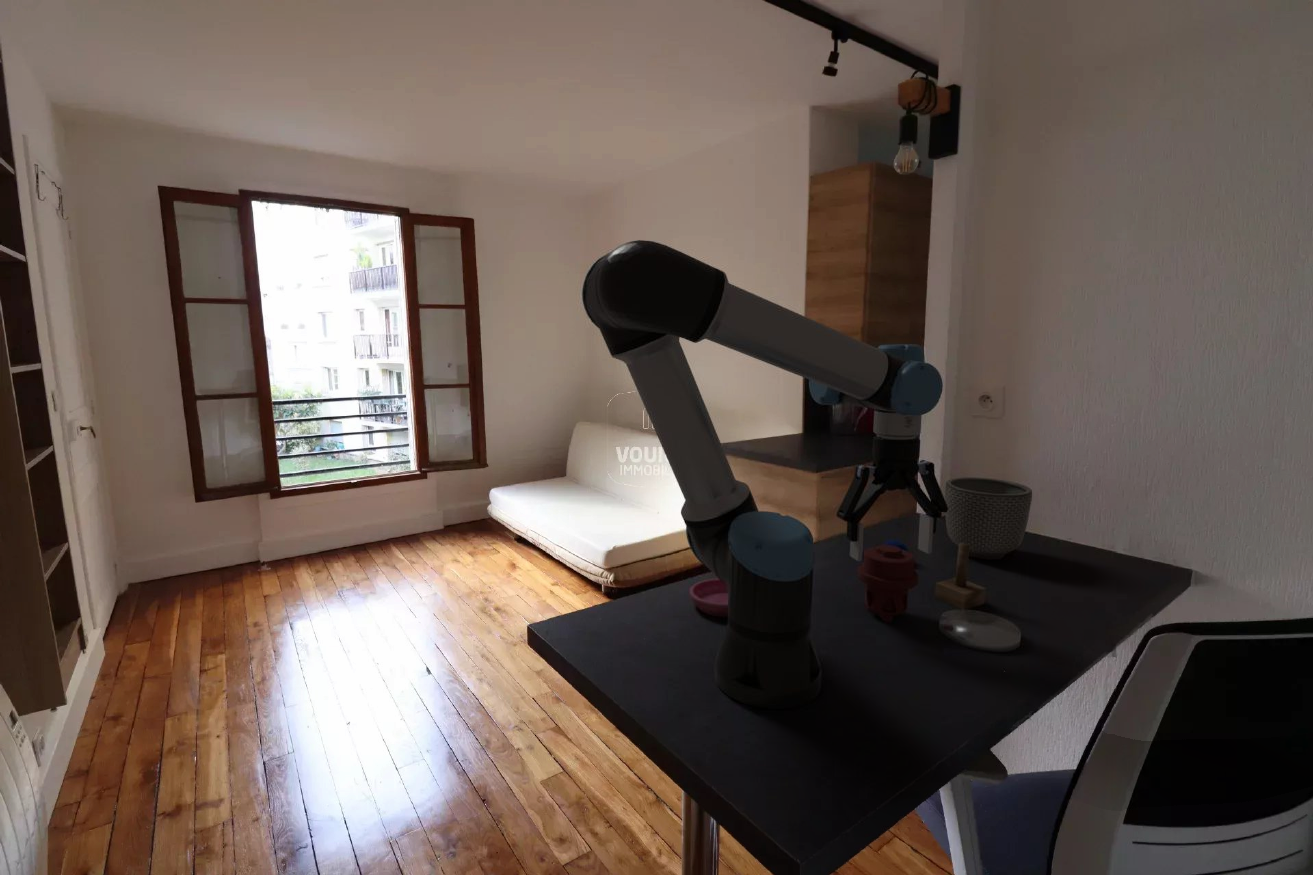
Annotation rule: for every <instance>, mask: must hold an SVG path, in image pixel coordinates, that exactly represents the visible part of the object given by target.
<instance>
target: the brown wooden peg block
mask: <svg viewBox="0 0 1313 875" xmlns="http://www.w3.org/2000/svg"><path fill="white" fill-rule="evenodd" d="M957 546H958V545H957ZM969 546H970V545H969V544H966V543H959V546H958V550H957V559H956V560H957V561H956V562H957V563H956V572H955V577H953V578H948V579H945V580H942V581H938V582H936V583H935V590H934V598H935V599H936V600H939V601H941V602H944V603H946V604H947V605H951V606H953V607H955V608H958V609H959V610H962V609H963V610H969V609H972V608H974V607H978V606H981V605H984V604H985V602H986V600H985V599H986V590H987V588H986V587H984V586H981V585H978V584H977V583H976V584H975V583H973V582H970V581H968V579H967V578H968V569H969V557H970V556H969Z"/></svg>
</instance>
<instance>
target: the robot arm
mask: <svg viewBox="0 0 1313 875" xmlns="http://www.w3.org/2000/svg"><path fill="white" fill-rule="evenodd" d="M727 276H728V275H727V273H726V272H725V271H723V270H721V269H719V268H717V267H714V266H712V265H709V264H707V263H705V262H704V261H701V260H699V259H697V258H695V257H692V256H690V255H689V254H686V253H684V252H682V251H681V250H677V249H675V248H673V247H671V246H668V245H666V244H664V243H660V242H656V241H655V240H654V241H653V240H641V239H639V240H638V239H637V240H632V241H629V242H625V243H623V244H621V245H618V246H617V247H616V248H615V249H613V250H611V251H610V252H607V253H606V254H605V255H603V256H600V257H599V258H598V259H597V260H596V261H595V262H594V263H593V264H592V265H591V266H590V268H589V270H588V271H587V273H586V276H585V277H584V278H585V279H584V281H583V285H582V290H581V292H582V293H581V296H582V297H581V299H582V304H583V308H584V310H585V312H586V315H587V317H588V318H589V320H590V321H591V323H593V324H594V326H595V327H596V328H598V330H599V331H600V333H601V336H602V338H603V341H604V342H605V345H606V347H607V349H608V352H609V354H610V356H611V358H613V359H615V360H618V361H621V362H623V363H624V364H625V365H626V367H627V369H628V372H629V374H630V376H631V379H632V380H633V382H634V383H633V384H634V385H635V387H636V389H637V392H638V395H639V396H640V397H639V398H640V400H641V401H642V404H643V406H644V408H645V411H646V412H647V415H648V417H649V420H650V422H651V425H652V426H653V429H654V431H655V434H656V436H657V438H658V441H659V444H660V445H661V447H662V450H663V453H664V455H665V457H666V459H667V461H668V463H669V466H670V468H671V471H672V473H673V475H674V477H675V479H676V482H677V484H678V487H679V489H680V491H681V494H682V496H683V498H684V502H683V504H682V506H681V510H680V515H681V517H682V520H683V522H684V525H685V534H686V539H687V543H688V545H689V546H688V547H690V550H691V552H692V553H693V555H694V556H695V557H696V559H697V561H699V563H701V564H702V565H703V566H705V567H706V568H708V569H709V570H710V571H711V572H712V574H713V575H715V577H717V579H720V580H721V581H722V582H723V583H724V584H725V585H726V586H727V587H728V617H727V625H726V629H725V632H724V634H723V636H722V637H723V638H722V639H721V641H720V645H719V648H718V650H717V653H716V654H715V655H716V656H715V659H714V679H715V683H716V685H717V686H718V688H719V689H720V690H721V691H722V692H723V693H725V694H726V695H727V696H729V697H730V698H732V699H734V700H736V701H738V702H740V703H742V704H744V705H748V706H752V707H755V708H762V709H768V710H770V709H771V710H784V709H792V708H797V707H800V706H803V705H804V706H805V705H806V704H808V703H810V702H811V701H813V700H814V699H816V697H817V696H818V695H819V693H820V691H821V688H822V668H821V664H820V661H819V656H818V654H817V651H816V646H815V644H814V640H813V637H812V634H811V628H812V626H811V624H812V602H813V584H814V582H813V581H814V566H815V564H816V563H815V562H816V555H815V547H814V544H815V543H814V537H813V533H812V532H811V530H810V529H809V527H808V526H807V525H806V524H804V523H803V522H802V521H800V520H798V519H797V518H795V517H792V516H790V515H787V514H786V515H783V514H781V513H779V512H775V511H769V510H768V511H764V510H762V511H761V510H760V511H759V508H758V506H757V504H756V503H757V502H756V501H755V499H754V497H753V493H752V492H751V489H750V487H749V485H748V484H747V483H746V482H743V481H741V480H737V479H736V478H735V474H734V473H733V470H732V468H731V466H730V462H729V459H728V458H727V455H726V453H725V450H724V448H723V445H722V443H721V440H720V438H719V436H718V433H717V431H716V428H715V426H714V423H713V421H712V418H711V416H710V413H709V411H708V409H707V408H708V407H707V406H706V404H705V402H704V399H703V397H702V394H701V391H700V389H699V386H698V384H697V381H696V379H695V377H694V374H693V372H692V369H691V367H690V365H689V362H688V359H687V357H686V354H685V352H684V349H683V348H682V344H681V341H680V338H681V339H684V340H686V341H688V342H692V343H694V344H696V343H699V342H702V341H703V340H708V341H710V342H713V343H715V344H718V345H721V346H723V347H726V348H727V349H730V350H733V351H736V352H739V353H741V354H743V355H746V356H748V357H751V358H753V359H756V360H758V361H761V362H763V363H766V364H768V365H771V366H774V367H776V368H779V369H782V370H784V371H787V372H788V373H792V374H794V375H796V376H800V377H802V378H805V379H807V380H809V381H808V387H809V388H808V389H809V393H810V395H811V397H812V399H813V400H814V401H815V402H816V403H817V404H819V405H821V406H822V405H823V406H827V405H829V406H836V407H837V405H840V406H841V405H846V406H847V405H848V406H852V407H853V406H855V407H859V408H864V409H873V410H874V412H873V414H874V415H873V430H872V432H873V433H874V434H875V435H874V437H872V438H873V439H872V457H873V462H872V465H871V466H869V465H868V466H867V465H862V464H859V463H858V464H856V466H855V470H854V477H853V479H852V481H851V483H850V484H849V487H848V489H847V491H846V493H845V495H844V497H843V499H842V502H841V504H840V506H839V507H838V510H837V512H836V517H837V518H839V519H840V520H842V521H844V522H846V538H847V540H848V541H849V542H850V545H849V548H850V549H849V556H850V557H851V558H852V559H854V560H856V561H857V562H861V561H862V552H863V550H864V549H863V547H864V528H865V527H864V523H861V520H862V519H863V518H864V517H865V516H866V514H867V513H868V512H869V510H870V509H871V508H872V507H873V505H874V504H875V503H876V502H877V500H878V499H879V498H880V496H881V495H883V494H885V493H886V491H891V492H892V491H896V490H901V491H904V490H907V491H908V492H909V494H910V496H912V497H913V499H914V500H915V501H916V503H917V505H918V506H919V507H920V508H921V509H922V511H923V512H924V513H919V525H918V528H919V529H918V541H917V542H918V544H917V549H918V550H919V551H922V552H924V553H926V554H927V555H928V554H932V551H933V549H932V548H933V535H934V534H936V532H937V522H938V520H937V519H940V518H942V516H943V513H944V514H945V512H947V511H948V507H947V504H946V502H945V496H944V494H943V491H942V490H941V488H940V485H939V482H938V479H937V476H936V475H935V474H936V473H935V472H936V471H935V464H934V462H931V461H929V460H924V459H921V460H920V461H919V462H918V460H919V458H920V453H921V439H920V438H919V437H918V436H919V435H921V431H922V430H921V429H922V416H923V415H926V414H928V413H930V412H931V411H932V410H933V409H934V408H936V407H937V405H938V403H939V402H940V400H941V397H942V396H941V395H942V393H943V386H944V385H943V379H942V374H941V373H940V372H939V371H938V369H937V368H936V367H935V366H934V365H932V364H931V363H928V362H926V360H925V350H924V348H923V347H922V345H919V344H911V343H910V344H905V343H903V344H881V345H879V346H878V347H875V346H872V345H870V344H869V343H866V342H864V341H861V340H859V339H857V338H855V337H853V336H850V335H848V334H846V333H843V332H841V331H840V330H839V331H838V330H836V329H835V328H832V327H829V326H827V325H825V324H824V323H823V324H822V322H818V321H816V320H814V319H811V318H810V317H807V316H805V315H803V314H799V313H797V312H795V311H794V310H791V309H788V308H786V307H784V306H782V305H780V304H778V303H776V302H772V301H771V300H768V299H766V298H763V297H762V296H759V295H756V294H755V293H753V292H749V291H748V290H746V289H743V288H741V287H738V286H737V285H734V284H732V283H731V282H730V281H729V280H728V277H727ZM917 474H919V475H920V478H921V480H922V482H923V485H924V488H925V491H926V493H925V492H924V490H923V489H922V488H921V484H920V483H919V482H918V481H917V479H916V478H915V477H916V476H917ZM872 476H873V478H872ZM871 478H872V479H871ZM869 479H871V480H870V481H869ZM868 482H869V483H868ZM867 486H868V487H867ZM866 487H867V488H866ZM927 495H928V496H927ZM862 562H863V561H862Z"/></svg>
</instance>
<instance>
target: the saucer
mask: <svg viewBox="0 0 1313 875" xmlns="http://www.w3.org/2000/svg"><path fill="white" fill-rule="evenodd" d="M689 598H690V599H691V601H692V603H693V604H694V605H695V606H697V608H698V609H699V610H700V611H701V612H702V613H705V614H707V615H710V616H714V617H722V618H728V587H727V586H726V585H725V584H724V583H723V582H722V581H721V580H720V579H719V578H711V579H710V578H708V579H706V580H701V581H698V582H696V583H694V584H693V585H692V586H691V587H690V589H689Z"/></svg>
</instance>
